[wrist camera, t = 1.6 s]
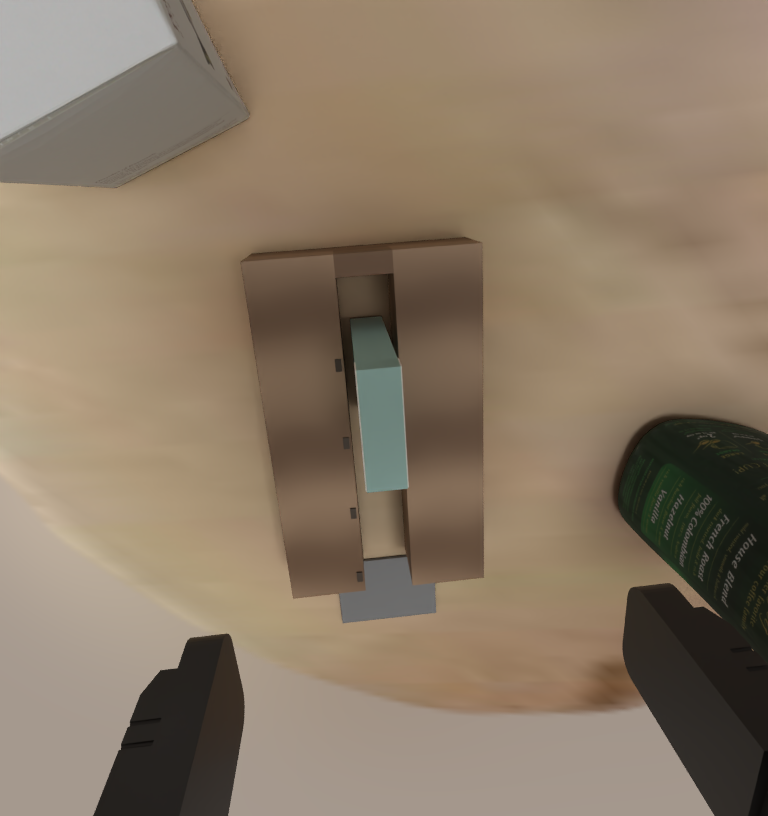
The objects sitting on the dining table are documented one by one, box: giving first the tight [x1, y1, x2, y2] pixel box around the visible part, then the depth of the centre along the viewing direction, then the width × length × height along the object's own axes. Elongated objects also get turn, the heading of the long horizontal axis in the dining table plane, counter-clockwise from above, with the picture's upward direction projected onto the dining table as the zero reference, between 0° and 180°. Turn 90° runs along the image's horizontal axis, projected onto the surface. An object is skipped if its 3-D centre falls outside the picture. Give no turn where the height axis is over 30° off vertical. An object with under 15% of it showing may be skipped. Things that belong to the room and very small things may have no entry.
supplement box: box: [0, 0, 249, 188], centre depth 18 cm, size 7×7×13 cm
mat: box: [339, 555, 436, 623], centre depth 35 cm, size 4×6×1 cm
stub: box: [350, 316, 409, 493], centre depth 25 cm, size 5×2×9 cm, turn 4°
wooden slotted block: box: [241, 237, 484, 599], centre depth 29 cm, size 18×11×4 cm, turn 4°
